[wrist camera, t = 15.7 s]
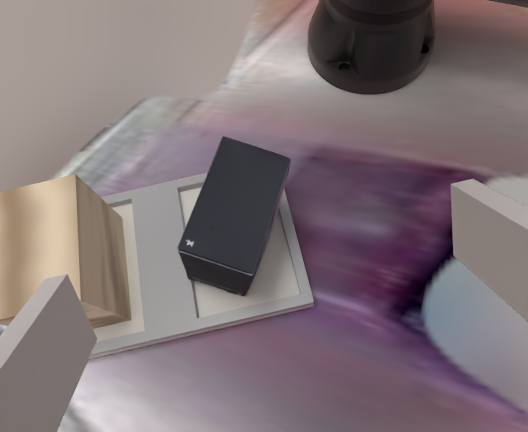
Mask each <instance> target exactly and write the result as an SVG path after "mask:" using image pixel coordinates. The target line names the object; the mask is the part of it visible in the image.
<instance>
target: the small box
mask: <svg viewBox="0 0 528 432" xmlns="http://www.w3.org/2000/svg"><path fill="white" fill-rule="evenodd" d="M290 163H291V159H290V158H288V157H285V156H282V155H280V154H277V153H274V152H270V151H268V150H264V149H262V148H259V147H255V146H252V145H249V144H246V143H243V142H240V141H237V140H234V139H231V138H227V137H224V136H223V137H222V139H221V141H220V144H219V146H218V149H217V151H216V154H215V156H214V158H213V161H212V163H211V166H210V168H209V171H208V173H207V176H206V178H205V180H204V183H203V185H202V188H201V190H200V193H199V195H198V198H197V200H196V203H195V205H194V208H193V210H192V212H191V215H190V217H189V220H188V222H187V225H186V227H185V230H184V232H183V235H182V237H181V240H180V242H179V244H178V247H177V250H178V253H179V255H180V258H181V260H182V263H183V265H184V268H185V270H186V274H187V277H188V279H191V280H193V281H199V282H200V283H204V284H207V285H210V286H214V287H216V288H218V289H222V290H225V291H227V292H229V293H233V294H237V295H241V296H246V294H247V292H248V290H249V288H250V286H251V284H252V281H253V279H254V277H255V274H256V272H257V269H258V267H259V264H260V262H261V259H262V256H263V253H264V251H265V248H266V245H267V242H268V240H269V237H270V234H271V231H272V228H273V225H274V222H275V218H276V215H277V212H278V208H279V205H280V202H281V198H282V195H283V191H284V187H285V184H286V180H287V176H288V172H289V167H290Z"/></svg>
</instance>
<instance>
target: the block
mask: <svg viewBox="0 0 528 432" xmlns="http://www.w3.org/2000/svg"><path fill="white" fill-rule="evenodd" d="M64 274H68V276H69V278H70V281H71V283H72V285H73V287H74V289H75V291H76V294H77V296H78V298H79V300H80V302H81V304H82V307H83V309H84V311H85V313H86V315H87V317H88V320H89V322H90V324H91V326H92V328H93V329H95V328H99V327H104V326H108V325H112V324H116V323H121V322H125V321H129V320H132V318H131V307H130V295H129V284H128V273H127V261H126V250H125V239H124V228H123V218H122V217H121V216H120V215H119V214H118V213H117V212H116V211H115V210H114V209H112V208H111V207H110V206H109V205H108V204H107V203H106V202H105V201H104V200H103V199H102V198H101V197H99V196H98V195H97V194H96V193H95V192H94V191H93V190H92V189H91V188H90V187H89V186H88V185H86V184H85V183H84V182H83V181H82V180H81V179H80V178H79V177H78V176H77V175H76V174H75V175H70V176H66V177H62V178H58V179H53V180H49V181H45V182H41V183H37V184H32V185H28V186H23V187H19V188H15V189H11V190H6V191H2V192H0V324H1V325H6V326H8V325H9V324H10V323H11V322H12V320H13V319H14V318H15V317H16V315H17V314H18V313H19V311H20V310H21V309H22V308H23V306H24V305H25V304H26V303H27V301H28V300H29V299H30V297H31V296H32V295H33V294H34V292H35V291H36V290H37V288H38V287H39V286H40V285H41V283H42V282H43V281H44V280H45V279H47V278H51V277H56V276H60V275H64Z"/></svg>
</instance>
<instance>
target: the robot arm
mask: <svg viewBox="0 0 528 432" xmlns="http://www.w3.org/2000/svg"><path fill="white" fill-rule="evenodd" d="M489 1H495V2H500V3H505V4H511V5H516V6H522V7H527V8H528V0H489ZM434 41H435V14H434V0H319V3H318V5H317V7H316V10H315V12H314V15H313V17H312V19H311V22H310V25H309V30H308V54H309V58H310V60H311V63H312V65H313V66H314V68H315V69H316V71H317V72H318V73H319V74H320V75H321V76H322V77H323V78H324V79H325V80H327V81H328V82H330V83H331V84H333V85H335V86H337V87H339V88H342V89H344V90H347V91H351V92H356V93H364V94H375V93H384V92H388V91H392V90H395V89H398V88H400V87H402V86H404V85H406V84H408V83H410V82H411V81H412V80H414V79H415V78H416V77H417V76H418V75H419V74H420V73H421V72H422V71H423V69H424V68H425V66H426V64H427V62H428V60H429V57H430V54H431V52H432V49H433V46H434ZM451 207H452V231H453V255H454V256H455V257H456V258H457V259H458V260H459V261H460V262H461V263H463V264H464V265H465V266H466V267H467V268H468V269H469V270H470V271H472V272H473V273H474V274H475V275H476V276H477V277H478V278H479V279H481V280H482V281H483V282H484V283H485V284H486V285H487V286H488V287H489V288H491V289H492V290H493V291H494V292H495V293H496V294H497V295H499V297H501V298H502V299H503V300H504V301H505V302H506V303H507V304H508V305H510V306H511V307H512V308H513V309H514V310H515V311H516V312H517V313H518V314H520V315H521V316H522V317H523V318H524V319H525V320H526V321H527V322H528V207H527V206H525V205H523V204H521V203H519V202H517V201H515V200H513V199H511V198H509V197H507V196H505V195H503V194H501V193H499V192H497V191H495V190H494V189H492V188H490V187H488V186H486V185H484V184H482V183H480V182H478V181H476V180H474V179H470V180H465V181H461V182H457V183H453V184H451ZM96 341H97V337H96V335H95V333H94V330H93V328H92V326H91V324H90V322H89V320H88V317H87V315H86V313H85V311H84V309H83V307H82V304H81V302H80V300H79V298H78V296H77V294H76V291H75V289H74V287H73V285H72V283H71V281H70V278H69V276H68V274H64V275H60V276H56V277H51V278H47V279H45V280H44V281H43V282H42V283H41V285H40V286H39V287H38V288H37V290H36V291H35V292H34V294H33V295H32V296H31V297H30V299H29V300H28V301H27V303H26V304H25V305H24V306H23V308H22V309H21V310H20V311H19V313H18V314H17V315H16V317H15V318H14V319H13V320H12V322H11V323H10V324H9V325H8V327H7V328H6V329H5V331H4V332H3V333H2V334H1V336H0V432H57V430H58V427H59V425H60V423H61V421H62V418H63V416H64V414H65V412H66V409H67V407H68V405H69V402H70V400H71V398H72V396H73V393H74V391H75V389H76V386H77V384H78V382H79V380H80V377H81V375H82V373H83V371H84V368H85V366H86V364H87V361H88V359H89V357H90V355H91V352H92V350H93V348H94V346H95V343H96Z"/></svg>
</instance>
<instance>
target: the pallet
mask: <svg viewBox="0 0 528 432" xmlns="http://www.w3.org/2000/svg"><path fill="white" fill-rule="evenodd" d="M207 173H208V172H207ZM207 173H203V174H198V175H194V176H190V177H186V178H181V179H177V180H173V181H168V182H164V183H160V184H156V185H151V186H147V187H143V188H139V189H134V190H130V191H126V192H121V193H117V194H113V195H109V196H104V197H101V198H102V199H103V200H104V201H105V202H106V203H107V204H108V205H109V206H110V207H111V208H112V209H114V210H115V211H116V212H117V213H118V214H119V215H120V216H121V217H122V218H123V228H124V239H125V250H126V261H127V273H128V284H129V295H130V307H131V318H132V320H129V321H125V322H121V323H116V324H112V325H108V326H104V327H99V328H95V329H93V330H94V333H95V335H96V337H97V341H96V343H95V346H94V348H93V350H92V352H91V355H90V357H89V359H93V358H97V357H101V356H106V355H110V354H114V353H118V352H123V351H127V350H131V349H135V348H140V347H144V346H148V345H152V344H157V343H161V342H165V341H169V340H174V339H178V338H182V337H187V336H191V335H195V334H199V333H204V332H208V331H212V330H216V329H221V328H225V327H229V326H233V325H238V324H242V323H246V322H250V321H255V320H259V319H263V318H267V317H272V316H276V315H280V314H284V313H289V312H293V311H297V310H302V309H306V308H310V307H313V306H314V300H313V296H312V292H311V289H310V285H309V281H308V277H307V273H306V270H305V266H304V262H303V258H302V254H301V251H300V247H299V243H298V239H297V236H296V232H295V228H294V224H293V220H292V217H291V213H290V209H289V205H288V201H287V198H286V194H285V190H284V191H283V195H282V198H281V202H280V205H279V208H278V212H277V215H276V218H275V222H274V225H273V228H272V231H271V234H270V237H269V240H268V242H267V245H266V248H265V251H264V253H263V256H262V259H261V262H260V264H259V267H258V269H257V272H256V274H255V277H254V279H253V281H252V284H251V286H250V288H249V290H248V292H247V294H246V296H241V295H237V294H233V293H229V292H227V291H225V290H222V289H218V288H216V287H214V286H210V285H207V284H204V283H200V282H199V281H193V280H191V279H188V277H187V274H186V270H185V268H184V265H183V263H182V260H181V258H180V255H179V253H178V250H177V247H178V244H179V242H180V240H181V237H182V235H183V232H184V230H185V227H186V225H187V222H188V220H189V217H190V215H191V212H192V210H193V208H194V205H195V203H196V200H197V198H198V195H199V193H200V190H201V188H202V185H203V183H204V180H205V178H206V176H207ZM89 359H88V360H89Z"/></svg>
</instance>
